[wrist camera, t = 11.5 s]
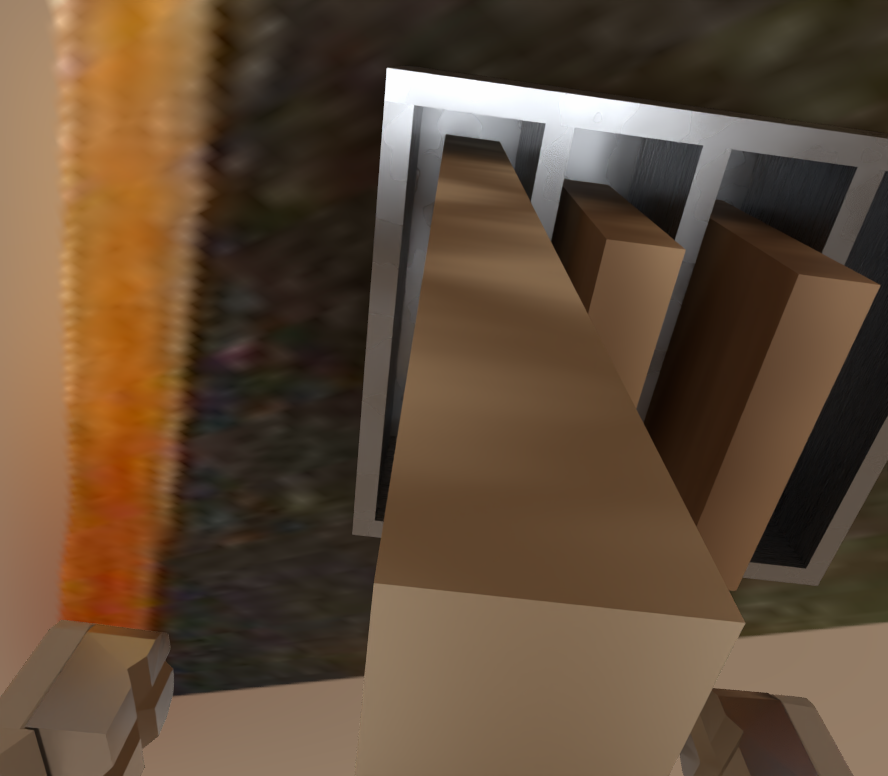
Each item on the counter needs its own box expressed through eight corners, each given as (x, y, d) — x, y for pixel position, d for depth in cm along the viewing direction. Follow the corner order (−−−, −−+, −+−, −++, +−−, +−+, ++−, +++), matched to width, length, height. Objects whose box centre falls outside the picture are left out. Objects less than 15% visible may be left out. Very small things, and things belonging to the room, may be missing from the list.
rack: (886, 133, 24) (1052, 161, 17) (741, 473, 31) (817, 585, 25) (407, 65, 23) (386, 67, 16) (375, 430, 30) (352, 534, 24)
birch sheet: (499, 141, 23) (745, 622, 3) (455, 420, 28) (451, 1210, 9) (445, 133, 23) (373, 582, 3) (412, 415, 28) (312, 1201, 9)
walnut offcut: (722, 200, 24) (881, 285, 15) (648, 424, 28) (735, 591, 19) (670, 193, 24) (798, 274, 15) (605, 419, 28) (673, 584, 19)
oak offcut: (608, 184, 23) (685, 249, 15) (553, 413, 28) (590, 553, 20) (555, 177, 23) (606, 239, 15) (509, 407, 28) (529, 546, 20)
